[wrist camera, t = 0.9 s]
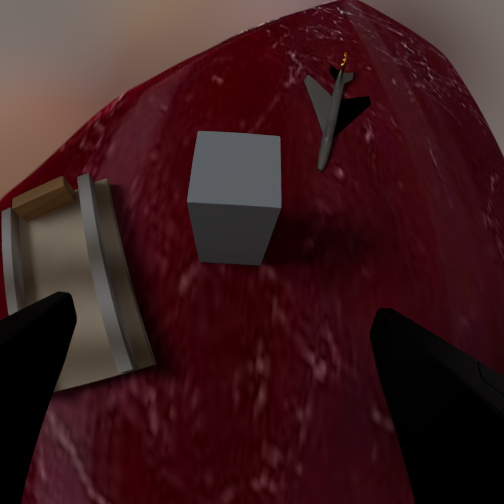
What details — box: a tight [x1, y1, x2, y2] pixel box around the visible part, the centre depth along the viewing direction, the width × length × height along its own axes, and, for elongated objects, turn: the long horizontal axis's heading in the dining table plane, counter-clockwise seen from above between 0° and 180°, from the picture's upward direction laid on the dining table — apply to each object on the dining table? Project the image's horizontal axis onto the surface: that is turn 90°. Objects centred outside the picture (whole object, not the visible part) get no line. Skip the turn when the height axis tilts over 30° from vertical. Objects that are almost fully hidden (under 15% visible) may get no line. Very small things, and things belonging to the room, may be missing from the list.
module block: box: [187, 131, 281, 265], centre depth 20 cm, size 5×4×9 cm
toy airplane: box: [304, 57, 370, 171], centre depth 30 cm, size 8×21×2 cm, turn 163°
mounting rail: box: [2, 173, 157, 393], centre depth 20 cm, size 15×11×4 cm
